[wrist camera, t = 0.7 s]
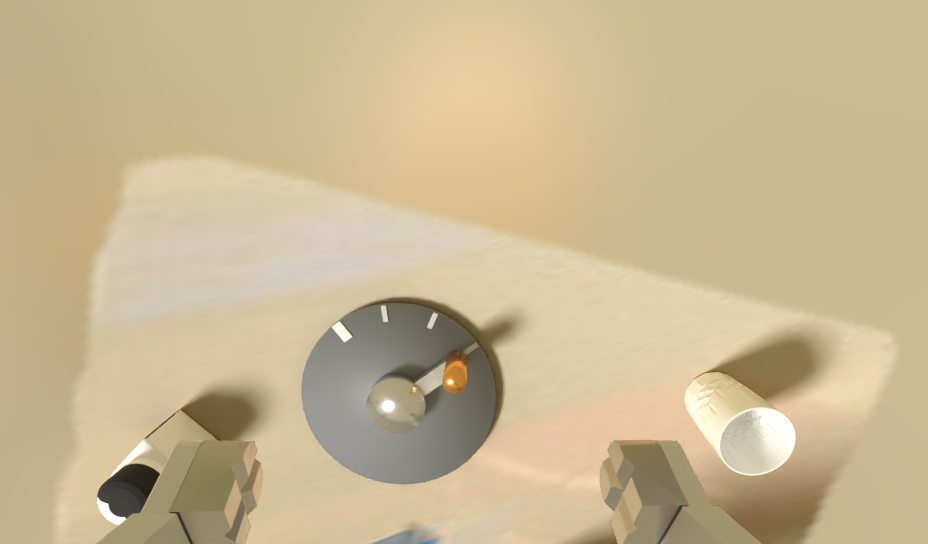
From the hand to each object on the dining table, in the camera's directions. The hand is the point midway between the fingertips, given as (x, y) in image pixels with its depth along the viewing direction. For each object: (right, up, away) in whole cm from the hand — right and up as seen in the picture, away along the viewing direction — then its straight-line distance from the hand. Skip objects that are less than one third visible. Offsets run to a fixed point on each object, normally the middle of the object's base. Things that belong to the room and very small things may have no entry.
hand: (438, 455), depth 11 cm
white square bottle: (-36, -18, +52) cm, 66 cm away
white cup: (+31, -11, +49) cm, 59 cm away
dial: (-5, -9, +48) cm, 49 cm away
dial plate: (-7, -11, +50) cm, 51 cm away
